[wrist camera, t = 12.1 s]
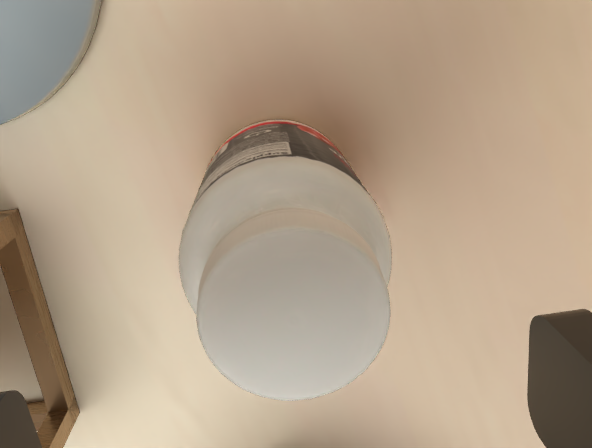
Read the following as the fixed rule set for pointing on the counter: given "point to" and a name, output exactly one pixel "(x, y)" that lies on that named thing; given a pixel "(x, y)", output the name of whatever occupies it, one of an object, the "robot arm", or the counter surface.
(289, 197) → the pill bottle
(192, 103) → the counter surface
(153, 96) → the counter surface
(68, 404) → the brass cube frame
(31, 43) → the dish
